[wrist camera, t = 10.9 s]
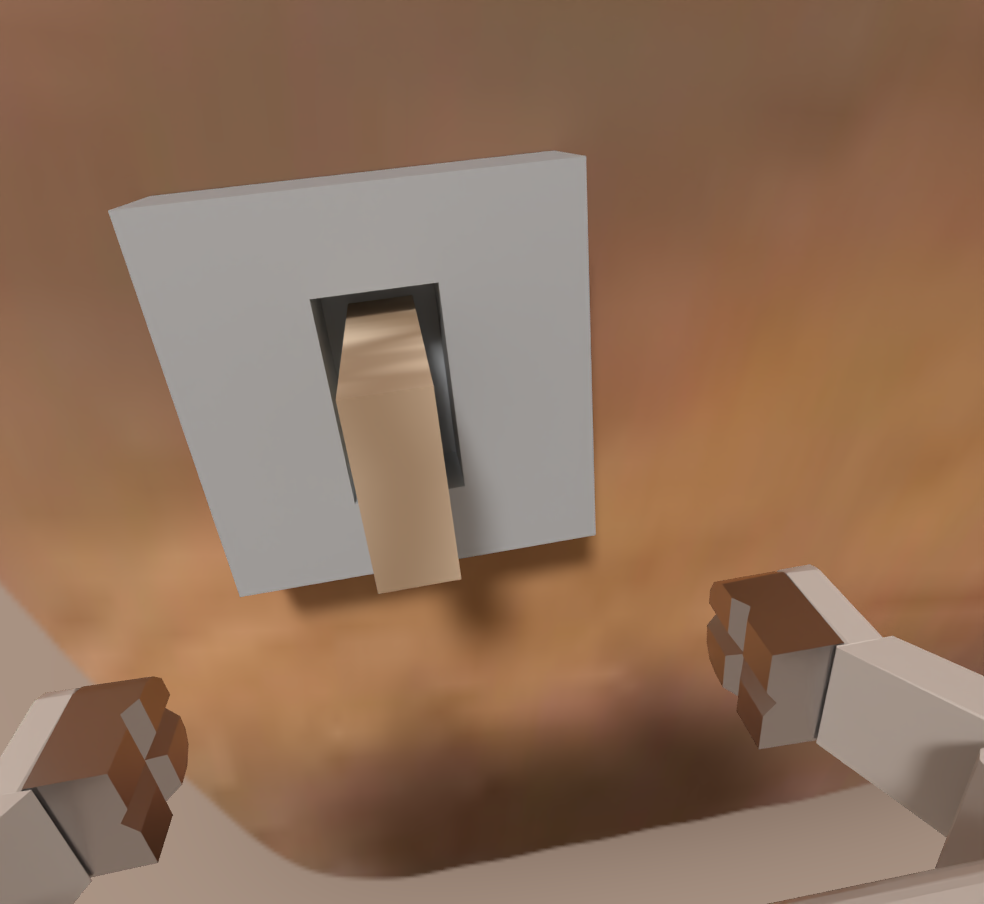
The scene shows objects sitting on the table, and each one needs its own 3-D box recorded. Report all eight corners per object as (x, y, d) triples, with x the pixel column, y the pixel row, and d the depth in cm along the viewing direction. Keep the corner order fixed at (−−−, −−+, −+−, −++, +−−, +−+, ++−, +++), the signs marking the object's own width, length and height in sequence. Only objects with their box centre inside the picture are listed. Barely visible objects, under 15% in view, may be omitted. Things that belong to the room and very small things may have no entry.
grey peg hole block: (553, 150, 20) (585, 156, 17) (568, 485, 26) (595, 534, 23) (150, 195, 19) (108, 210, 16) (256, 537, 25) (239, 596, 22)
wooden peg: (412, 295, 21) (433, 385, 14) (433, 438, 23) (461, 578, 16) (348, 303, 20) (335, 400, 13) (376, 447, 23) (378, 594, 16)
